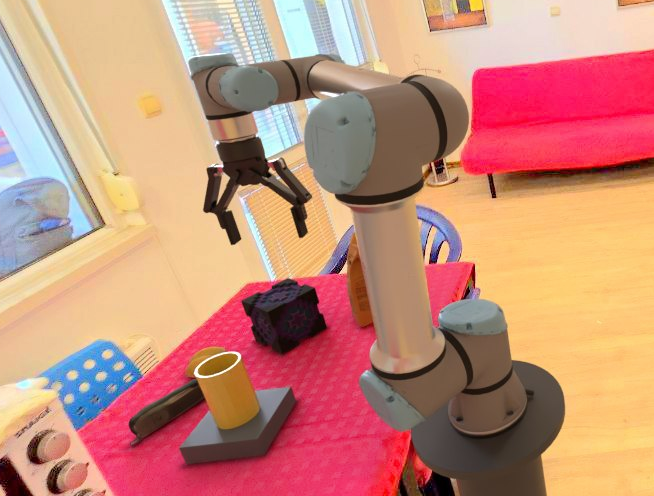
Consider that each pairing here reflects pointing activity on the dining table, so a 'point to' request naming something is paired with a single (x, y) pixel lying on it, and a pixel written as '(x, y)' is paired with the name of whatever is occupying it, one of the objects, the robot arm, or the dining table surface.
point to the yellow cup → (227, 390)
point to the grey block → (240, 431)
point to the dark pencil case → (165, 410)
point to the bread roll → (202, 358)
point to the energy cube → (284, 315)
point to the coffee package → (357, 286)
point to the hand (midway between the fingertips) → (270, 238)
